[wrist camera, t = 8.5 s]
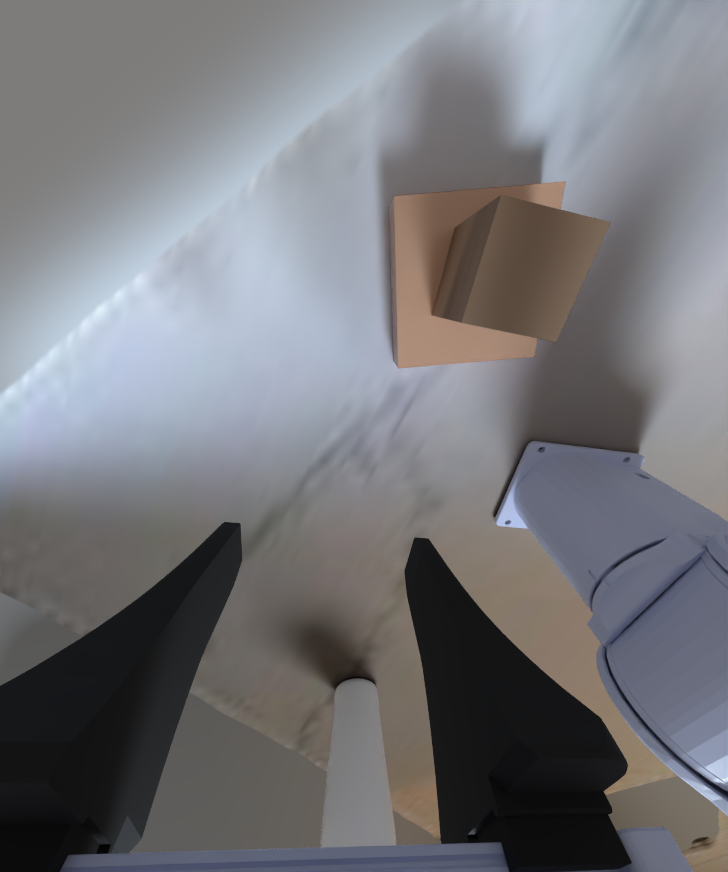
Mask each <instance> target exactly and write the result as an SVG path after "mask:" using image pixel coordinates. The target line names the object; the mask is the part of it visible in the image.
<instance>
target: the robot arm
mask: <svg viewBox="0 0 728 872" xmlns="http://www.w3.org/2000/svg"><path fill="white" fill-rule="evenodd" d="M541 447H542V449H541V450H539V448H541ZM644 460H645V457H644V456H642V455H640V454H638V453H630V452H621V451H613V450H605V449H597V448H588V447H580V446H572V445H564V444H556V443H547V442H539V441H532V442H530V443H529V444H528V445H527V447H526V449H525V451H524V454H523V456H522V458H521V460H520V463H519V465H518V467H517V469H516V472H515V474H514V476H513V478H512V481H511V483H510V485H509V488H508V490H507V492H506V494H505V497H504V499H503V501H502V503H501V506H500V508H499V510H498V513H497V515H496V517H495V523H496V524H497V525H498V526H505V527H516V528H528V529H529V530H530V531H531V533H532V534H533V535H534V537H535V538H536V539H537V541H538V542H539V543H540V545H541V546H542V547H543V548H544V550H545V551H546V552H547V554H548V555H549V556H550V558H551V559H552V560H553V562H554V563H555V564H556V565H557V567H558V568H559V569H560V571H561V572H562V573H563V575H564V576H565V577H566V578H567V580H568V581H569V582H570V584H571V585H572V586H573V588H574V589H575V590H576V592H577V593H578V594H579V595H580V597H581V598H582V599H583V601H584V602H585V603H586V605H587V606H588V607H589V609H590V610H591V611H592V612H593V616H592V618H591V619H590V621H589V622H588V626H589V627H590V629H591V630H592V631H593V633H594V634H595V636H596V637H597V638H598V640H599V641H600V642H601V645H600V646H599V648H598V650H597V653H596V662H597V668H598V671H599V674H600V677H601V680H602V682H603V684H604V686H605V688H606V690H607V692H608V694H609V696H610V698H611V699H612V701H613V703H614V705H615V706H616V707H617V709H618V711H619V712H620V714H621V715H622V717H623V718H624V720H625V721H626V722H627V724H628V725H629V726H630V728H631V729H632V730H633V731H634V733H635V734H636V735H637V736H638V737H639V738H640V740H641V741H642V742H643V743H644V744H645V745H646V746H647V747H648V748H649V749H650V750H651V751H652V752H653V753H654V754H655V755H656V756H657V757H658V758H659V759H660V760H661V761H662V762H663V763H664V764H665V765H666V766H668V767H669V768H670V769H671V770H672V771H673V772H674V773H675V774H677V775H678V776H679V777H680V778H682V779H683V780H684V781H685V782H687V783H688V784H689V785H690V786H692V787H693V788H694V789H696V790H697V791H698V792H700V793H701V794H702V795H703V796H705V797H706V798H707V799H709V800H710V801H711V802H712V803H713V804H715V805H716V806H717V807H718V808H719V809H720V810H721V811H723V812H724V813H725V814H726V815H727V816H728V522H727V521H726V520H724V519H723V518H722V517H720V516H719V515H717V514H715V513H714V512H712V511H710V510H709V509H707V508H705V507H704V506H702V505H700V504H699V503H697V502H695V501H694V500H692V499H690V498H689V497H687V496H685V495H683V494H682V493H680V492H678V491H677V490H675V489H673V488H672V487H670V486H668V485H667V484H665V483H663V482H662V481H660V480H658V479H656V478H655V477H653V476H651V475H650V474H648V473H646V472H645V471H643V470H641V469H640V467H641V465H642V464H643V462H644ZM507 520H508V521H507ZM241 562H242V547H241V526H240V523H230V522H224V523H223V524H221V525H220V526H219V527H218V528H217V529H216V530H215V531H214V532H213V533H212V534H211V535H210V536H209V537H208V538H207V539H206V540H205V541H204V542H203V543H202V544H201V545H200V546H199V547H198V548H197V549H196V550H195V551H194V552H192V553H191V554H190V555H189V556H188V557H187V558H186V559H185V560H184V561H183V562H182V563H180V564H179V565H178V566H177V567H176V568H175V569H174V570H172V571H171V572H170V573H169V574H168V575H166V576H165V577H164V578H163V579H162V580H160V581H159V582H158V583H157V584H156V585H155V586H153V587H152V588H151V589H149V590H148V591H147V592H146V593H144V594H143V595H142V596H141V597H139V598H138V599H137V600H135V601H134V602H133V603H131V604H130V605H129V606H127V607H126V608H124V609H123V610H122V611H120V612H119V613H117V614H116V615H115V616H113V617H112V618H110V619H109V620H107V621H106V622H105V623H103V624H102V625H100V626H99V627H97V628H96V629H94V630H93V631H91V632H90V633H88V634H87V635H85V636H84V637H82V638H81V639H79V640H78V641H76V642H74V643H73V644H71V645H69V646H68V647H66V648H64V649H63V650H61V651H60V652H58V653H56V654H55V655H53V656H51V657H50V658H48V659H47V660H45V661H43V662H42V663H40V664H38V665H37V666H35V667H33V668H32V669H30V670H28V671H26V672H25V673H23V674H21V675H19V676H17V677H16V678H14V679H12V680H10V681H8V682H7V683H5V684H3V685H1V686H0V872H693V870H692V868H691V867H690V865H689V863H688V862H687V860H686V858H685V857H684V855H683V853H682V852H681V850H680V848H679V847H678V845H677V843H676V841H675V840H674V838H673V836H672V835H671V833H670V831H669V830H667V829H666V828H664V827H651V828H650V827H649V828H626V829H621V830H618V831H616V830H615V828H614V826H613V824H612V822H611V820H610V818H609V816H608V814H611V813H612V807H611V805H610V803H609V801H608V800H607V797H606V796H605V794H604V792H603V791H604V790H606V789H607V788H608V787H610V786H611V785H612V784H614V783H615V782H616V781H618V780H619V779H620V778H621V777H623V776H624V775H625V773H626V771H627V767H628V764H627V761H626V759H625V757H624V756H623V754H622V752H621V751H620V749H619V747H618V746H617V744H616V742H615V740H614V739H613V737H612V735H611V734H610V732H609V730H608V729H607V727H606V726H605V724H604V723H603V721H602V719H601V718H600V717H599V716H598V715H596V714H595V713H594V712H593V711H591V710H590V709H589V708H587V707H586V706H585V705H584V704H582V703H581V702H580V701H579V700H577V699H576V698H575V697H573V696H572V695H571V694H570V693H568V692H567V691H566V690H565V689H563V688H562V687H561V686H560V685H559V684H557V683H556V682H555V681H554V680H553V679H552V678H550V677H549V676H548V675H547V674H546V673H545V672H543V671H542V670H541V669H540V668H539V667H538V666H537V665H536V664H534V663H533V662H532V661H531V660H530V659H529V658H528V657H527V656H526V655H525V654H524V653H523V652H522V651H521V650H519V649H518V648H517V647H516V646H515V645H514V644H513V643H512V642H511V641H510V640H509V639H508V638H507V637H506V636H505V635H504V634H503V633H502V632H501V631H500V630H499V629H498V628H497V626H496V625H495V624H494V623H493V622H492V621H491V620H490V619H489V618H488V617H487V616H486V615H485V613H484V612H483V611H482V610H481V609H480V608H479V606H478V605H477V604H476V603H475V602H474V600H473V599H472V598H471V597H470V595H469V594H468V593H467V592H466V590H465V589H464V588H463V586H462V585H461V584H460V582H459V581H458V580H457V578H456V577H455V576H454V574H453V573H452V572H451V570H450V569H449V568H448V566H447V565H446V563H445V562H444V560H443V559H442V558H441V556H440V555H439V553H438V552H437V550H436V549H435V547H434V546H433V544H432V543H431V542H430V540H429V539H427V538H414V541H413V544H412V548H411V551H410V554H409V558H408V561H407V564H406V568H405V581H406V590H407V597H408V602H409V607H410V611H411V616H412V620H413V625H414V629H415V634H416V638H417V643H418V647H419V652H420V656H421V662H422V667H423V673H424V681H425V688H426V695H427V703H428V711H429V719H430V728H431V736H432V746H433V756H434V765H435V775H436V787H437V798H438V809H439V822H440V835H441V843H442V844H429V845H428V844H426V845H392V846H357V847H323V848H291V849H290V848H289V849H255V850H221V851H185V852H152V853H129V852H130V851H131V850H132V849H133V848H134V847H135V846H136V845H137V844H138V842H139V841H140V840H141V839H142V835H143V832H144V829H145V826H146V822H147V819H148V816H149V813H150V809H151V806H152V803H153V800H154V797H155V793H156V790H157V787H158V784H159V780H160V777H161V774H162V771H163V768H164V765H165V761H166V759H167V756H168V753H169V749H170V746H171V743H172V740H173V737H174V734H175V731H176V728H177V725H178V722H179V720H180V717H181V714H182V711H183V708H184V705H185V702H186V699H187V696H188V693H189V691H190V688H191V685H192V682H193V679H194V677H195V674H196V671H197V668H198V666H199V663H200V660H201V658H202V655H203V653H204V650H205V648H206V646H207V644H208V641H209V639H210V637H211V635H212V633H213V630H214V628H215V626H216V624H217V622H218V619H219V617H220V615H221V613H222V611H223V608H224V606H225V604H226V602H227V599H228V597H229V595H230V593H231V590H232V588H233V586H234V583H235V580H236V577H237V574H238V571H239V568H240V565H241Z"/></svg>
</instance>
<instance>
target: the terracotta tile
mask: <svg viewBox="0 0 728 872" xmlns="http://www.w3.org/2000/svg"><path fill="white" fill-rule="evenodd" d="M564 188H565V182H555V183H543V184H531V185H519V186H507V187H495V188H483V189H471V190H460V191H448V192H436V193H424V194H412V195H400V196H394V197H393V200H392V202H391V205H390V207H389V224H390V257H391V290H392V322H393V355H394V363H395V364H396V366H397V367H398V368H408V367H420V366H432V365H444V364H455V363H467V362H479V361H491V360H502V359H514V358H526V357H534V356H535V351H536V345H537V339H538V338H533V337H528V336H523V335H518V334H513V333H508V332H503V331H499V330H494V329H489V328H484V327H479V326H474V325H469V324H465V323H460V322H456V321H452V320H448V319H444V318H440V317H436V316H432V311H433V308H434V304H435V300H436V296H437V292H438V289H439V285H440V281H441V277H442V274H443V270H444V266H445V262H446V259H447V255H448V251H449V247H450V244H451V240H452V236H453V232H454V228H455V227H456V226H458V225H459V224H460V223H462V222H463V221H465V220H466V219H468V218H469V217H470V216H472V215H473V214H475V213H476V212H477V211H479V210H480V209H482V208H483V207H484V206H486V205H487V204H489V203H490V202H491V201H493V200H494V199H496V198H497V197H498V196H500V195H505V196H509V197H513V198H517V199H521V200H525V201H529V202H533V203H536V204H540V205H544V206H548V207H552V208H556V209H560V210H561V204H562V199H563V193H564Z"/></svg>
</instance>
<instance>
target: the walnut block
mask: <svg viewBox="0 0 728 872" xmlns="http://www.w3.org/2000/svg"><path fill="white" fill-rule="evenodd" d="M610 223H611V222H607V221H603V220H599V219H595V218H591V217H587V216H583V215H580V214H576V213H572V212H568V211H564V210H560V209H556V208H552V207H548V206H544V205H540V204H536V203H533V202H529V201H525V200H521V199H517V198H513V197H509V196H505V195H500V196H498V197H497V198H496V199H494V200H493V201H491V202H490V203H489V204H487V205H486V206H484V207H483V208H482V209H480V210H479V211H477V212H476V213H475V214H473V215H472V216H470V217H469V218H468V219H466V220H465V221H463V222H462V223H460V224H459V225H458V226H456V227H455V228H454V232H453V236H452V240H451V244H450V247H449V251H448V255H447V259H446V262H445V266H444V270H443V274H442V277H441V281H440V285H439V289H438V292H437V296H436V300H435V304H434V308H433V311H432V316H436V317H440V318H444V319H448V320H452V321H456V322H460V323H465V324H469V325H474V326H479V327H484V328H489V329H494V330H499V331H503V332H508V333H513V334H518V335H523V336H528V337H533V338H538V339H542V340H547V341H552V342H556V341H557V339H558V337H559V335H560V333H561V330H562V328H563V326H564V324H565V322H566V319H567V317H568V315H569V313H570V311H571V308H572V306H573V304H574V302H575V300H576V297H577V295H578V293H579V291H580V289H581V286H582V284H583V282H584V280H585V278H586V275H587V273H588V271H589V269H590V267H591V264H592V262H593V260H594V258H595V256H596V254H597V251H598V249H599V247H600V245H601V243H602V240H603V238H604V236H605V234H606V232H607V229H608V227H609V225H610Z"/></svg>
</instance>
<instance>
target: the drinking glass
mask: <svg viewBox="0 0 728 872" xmlns="http://www.w3.org/2000/svg"><path fill="white" fill-rule="evenodd" d="M392 845H396V836H395V827H394V819H393V811H392V803H391V796H390V788H389V781H388V773H387V766H386V759H385V751H384V744H383V736H382V728H381V720H380V712H379V700H378V690H377V688H376V686H375V684H374V683H372V682H371V681H369V680H366V679H361V678H354V679H349V680H346V681H344V682H342V683H340V684H339V685H338V686H337V688H336V690H335V695H334V714H333V724H332V734H331V744H330V753H329V763H328V772H327V782H326V792H325V801H324V810H323V820H322V831H321V843H320V848H323V847H357V846H392Z"/></svg>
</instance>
